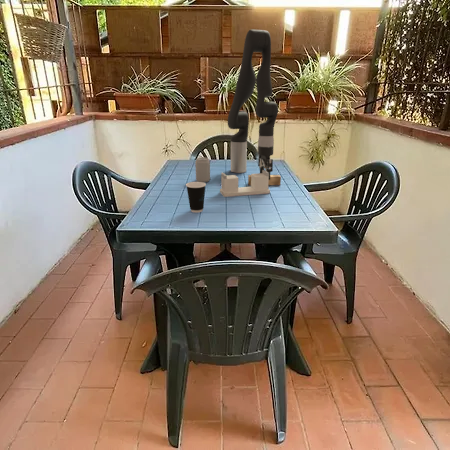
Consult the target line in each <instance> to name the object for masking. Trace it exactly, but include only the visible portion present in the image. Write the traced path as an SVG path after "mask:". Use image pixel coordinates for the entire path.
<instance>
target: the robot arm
mask: <svg viewBox="0 0 450 450" xmlns="http://www.w3.org/2000/svg"><path fill="white" fill-rule="evenodd" d="M254 53H261V64H260V66H259V69H258V71H257V74H256V72H255V70H254V67H253V63H252V62H253V61H252V60H253V54H254ZM271 57H272V38H271V33H270V32H269V31H268V30H264V29H248V31H247V33H246V35H245V38H244V46H243V53H242V57H241V58H242V59H241V65H240V68H239V73H238V77H237V82H236V85H235V91H234V95H233V100H232V103H231V106H230V109H229V113H228V116H227V126H228V128H229V129H230V130H238V131H237V132H236V133H235V134H233V135H231V136H230V172H231V173H236V174H242V173H246V172H247V162H248V161H247V159H248V157H247V155H248V151H247V150H248V149H247V148H248V136H249V124H250V123H249V122H250V120H249V114H248V112H246V111H242V110H241V109H242V106H244V105H245V103H246V102H247V101H248V100H249V99H250V98H251V97H252V94H253V93H254V91H255V88H256V93H257V94H256V105H255V114H256V116H257V117H258V118H259V119H261V118H264V119H266V118H267V119H266V121H264V122H261V123H260V124H259V126H258V139H257V140H258V141H257V154H258V160H257V161H258V162H257V163H258V164H257V166H258V167H259V173H262V170H265V171H267V172H268V173H269V180H270V175H271V172H273V169H274V167H273V166H274V165H273V162H274V160H273V159H271V156H273V155H274V144H275V143H274V141H275V140H274V134H275V131H274V130H275V128H274V127H275V124H276V120H277V116H278V115H279V107H278V106H279V105H278V103H276V102H275V101H265V99H267V98H270V97H271V96H273V86H272V76H271V74H272V73H271V65H272V64H271V63H272V62H271V61H272V59H271ZM240 110H241V111H240Z"/></svg>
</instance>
